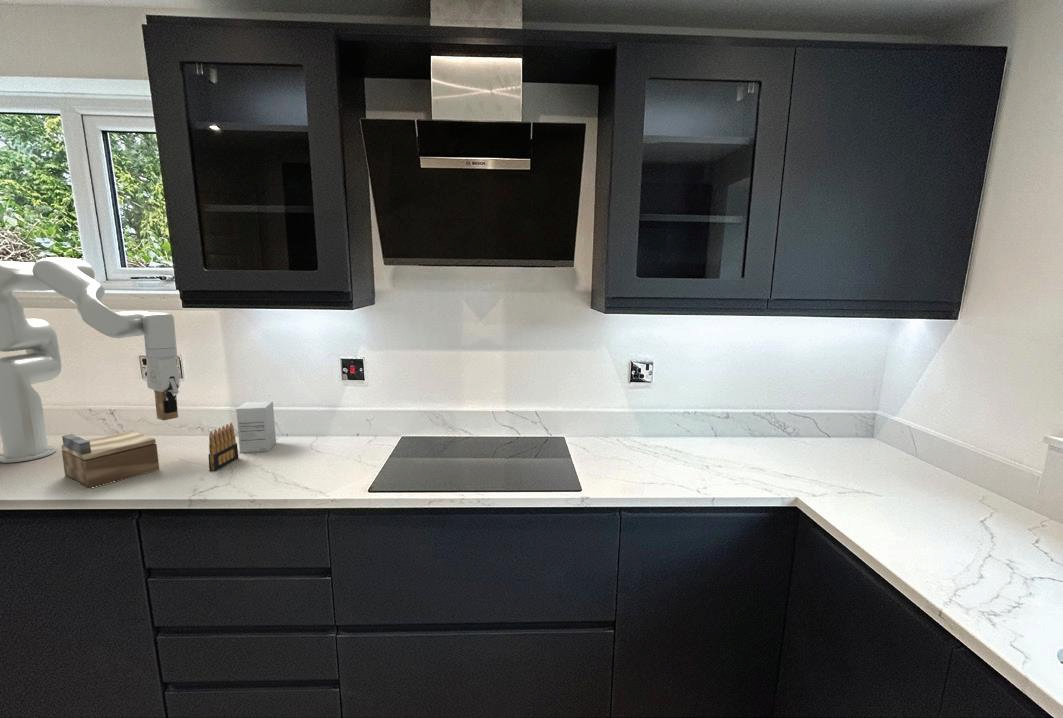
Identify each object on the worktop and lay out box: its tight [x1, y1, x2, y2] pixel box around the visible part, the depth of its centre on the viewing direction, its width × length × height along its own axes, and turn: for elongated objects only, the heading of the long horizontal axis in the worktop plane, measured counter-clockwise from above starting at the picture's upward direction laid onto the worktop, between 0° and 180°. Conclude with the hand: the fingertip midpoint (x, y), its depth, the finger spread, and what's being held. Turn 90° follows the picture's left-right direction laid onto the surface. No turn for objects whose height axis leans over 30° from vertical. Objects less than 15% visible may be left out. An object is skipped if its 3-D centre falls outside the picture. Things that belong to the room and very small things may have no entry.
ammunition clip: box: [208, 422, 239, 472], centre depth 143 cm, size 11×2×12 cm, turn 178°
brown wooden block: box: [153, 388, 179, 421], centre depth 146 cm, size 4×4×10 cm
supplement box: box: [235, 400, 277, 454], centre depth 158 cm, size 9×9×15 cm
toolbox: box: [61, 443, 160, 489], centre depth 136 cm, size 16×16×8 cm
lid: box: [60, 430, 157, 460], centre depth 135 cm, size 15×16×4 cm
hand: (167, 410), depth 147 cm, fingers closed on brown wooden block, 4 cm apart
